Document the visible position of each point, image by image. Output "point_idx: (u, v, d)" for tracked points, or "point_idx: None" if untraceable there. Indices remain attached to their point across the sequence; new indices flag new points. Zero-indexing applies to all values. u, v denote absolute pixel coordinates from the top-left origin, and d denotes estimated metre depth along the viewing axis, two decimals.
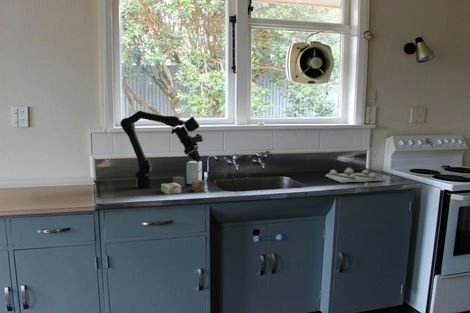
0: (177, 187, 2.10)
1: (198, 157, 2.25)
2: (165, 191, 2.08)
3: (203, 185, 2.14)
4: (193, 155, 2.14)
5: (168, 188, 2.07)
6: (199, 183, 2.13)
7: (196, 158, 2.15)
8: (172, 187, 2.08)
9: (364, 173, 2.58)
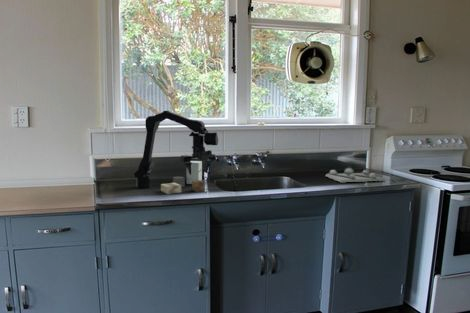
0: (177, 187, 2.10)
1: (205, 170, 2.17)
2: (165, 191, 2.08)
3: (203, 185, 2.14)
4: (188, 165, 2.11)
5: (168, 188, 2.07)
6: (199, 183, 2.13)
7: (188, 170, 2.12)
8: (172, 187, 2.08)
9: (364, 173, 2.58)
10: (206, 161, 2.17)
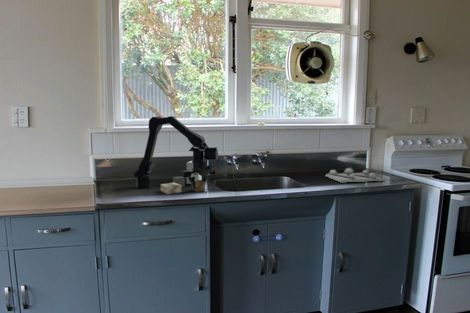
0: (178, 187, 2.10)
1: None
2: (166, 191, 2.08)
3: (203, 185, 2.14)
4: (191, 180, 2.14)
5: (169, 188, 2.07)
6: (199, 183, 2.13)
7: (192, 184, 2.14)
8: (173, 187, 2.08)
9: (364, 173, 2.58)
10: (203, 176, 2.17)
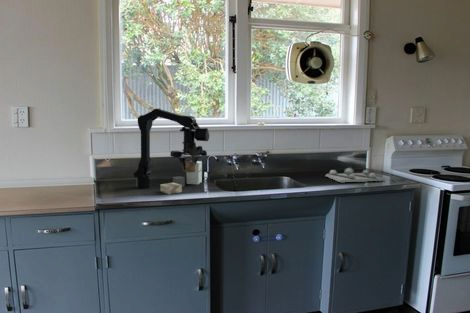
0: (178, 187, 2.10)
1: None
2: (166, 191, 2.08)
3: (193, 166, 2.12)
4: (181, 161, 2.11)
5: (170, 188, 2.07)
6: (189, 164, 2.10)
7: (182, 165, 2.11)
8: (173, 187, 2.08)
9: (364, 173, 2.58)
10: (193, 157, 2.14)
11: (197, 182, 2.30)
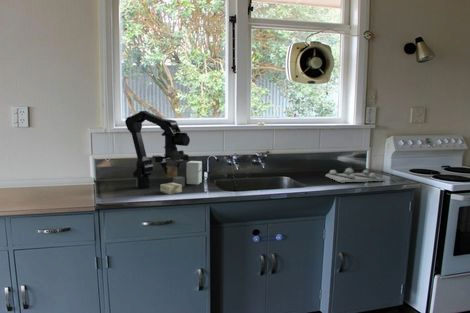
0: (178, 187, 2.10)
1: None
2: (167, 191, 2.08)
3: (175, 170, 2.10)
4: None
5: (170, 188, 2.07)
6: (171, 168, 2.08)
7: (164, 170, 2.09)
8: (174, 187, 2.08)
9: (364, 173, 2.58)
10: (176, 161, 2.12)
11: (197, 182, 2.30)
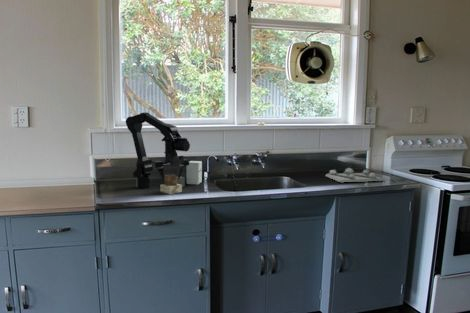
0: (178, 187, 2.11)
1: (178, 176, 2.13)
2: (167, 191, 2.08)
3: (175, 179, 2.10)
4: None
5: (171, 188, 2.07)
6: (171, 177, 2.09)
7: (161, 175, 2.08)
8: (174, 187, 2.08)
9: (364, 173, 2.58)
10: (179, 166, 2.13)
11: (197, 182, 2.30)
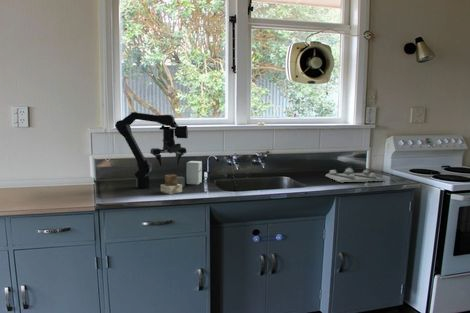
0: (179, 187, 2.11)
1: (176, 163, 2.21)
2: (167, 191, 2.08)
3: (175, 179, 2.10)
4: (158, 158, 2.16)
5: (171, 188, 2.07)
6: (171, 177, 2.09)
7: (158, 162, 2.17)
8: (174, 187, 2.08)
9: (364, 173, 2.58)
10: (177, 154, 2.21)
11: (197, 182, 2.30)
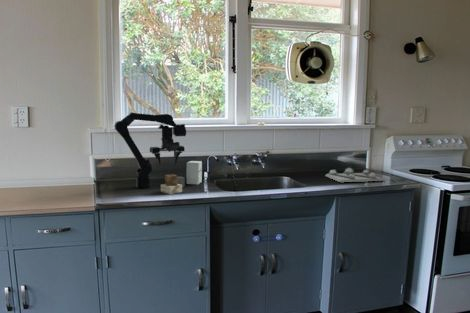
0: (179, 187, 2.11)
1: (174, 161, 2.27)
2: (167, 191, 2.08)
3: (176, 179, 2.10)
4: None
5: (171, 188, 2.07)
6: (171, 177, 2.09)
7: (158, 160, 2.22)
8: (175, 187, 2.08)
9: (364, 173, 2.58)
10: (175, 152, 2.27)
11: (197, 182, 2.30)
